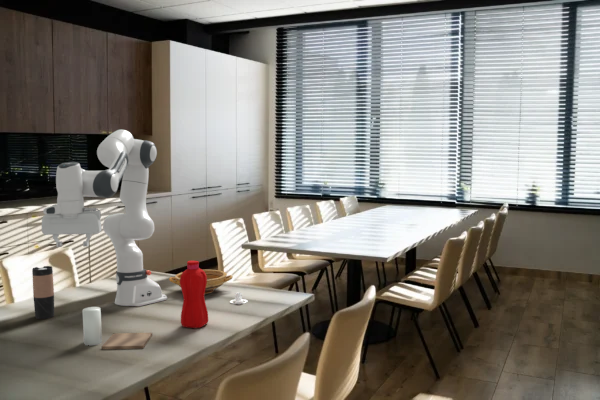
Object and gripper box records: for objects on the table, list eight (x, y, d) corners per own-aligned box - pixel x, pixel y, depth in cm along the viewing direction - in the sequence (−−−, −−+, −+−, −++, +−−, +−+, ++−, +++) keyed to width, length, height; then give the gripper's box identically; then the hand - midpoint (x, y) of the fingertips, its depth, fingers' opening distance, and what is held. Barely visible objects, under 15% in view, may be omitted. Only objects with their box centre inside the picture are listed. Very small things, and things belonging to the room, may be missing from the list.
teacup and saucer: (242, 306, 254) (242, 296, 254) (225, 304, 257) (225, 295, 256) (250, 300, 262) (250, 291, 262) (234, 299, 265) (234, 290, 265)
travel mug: (47, 319, 236) (44, 270, 234) (30, 318, 238) (27, 269, 236) (59, 314, 243) (56, 266, 242) (42, 313, 245) (39, 265, 243)
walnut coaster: (101, 349, 200) (101, 346, 200) (113, 336, 214) (113, 333, 214) (143, 348, 201) (143, 345, 201) (152, 335, 215) (152, 332, 215)
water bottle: (213, 321, 231) (211, 258, 228) (199, 329, 220) (197, 263, 218) (192, 319, 234) (190, 257, 231) (177, 327, 223) (175, 262, 221)
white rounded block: (99, 338, 212) (97, 305, 211) (104, 343, 207) (102, 309, 206) (81, 342, 208) (80, 308, 207) (86, 346, 203) (85, 312, 202)
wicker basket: (166, 299, 265) (165, 281, 265) (172, 286, 290) (172, 270, 289) (232, 296, 268) (232, 279, 267) (233, 284, 292) (233, 268, 291)
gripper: (103, 206, 214) (104, 244, 215) (45, 207, 213) (47, 245, 214) (97, 208, 208) (99, 247, 209) (38, 209, 207) (40, 248, 208)
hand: (72, 246), depth 212 cm, fingers open, 8 cm apart
